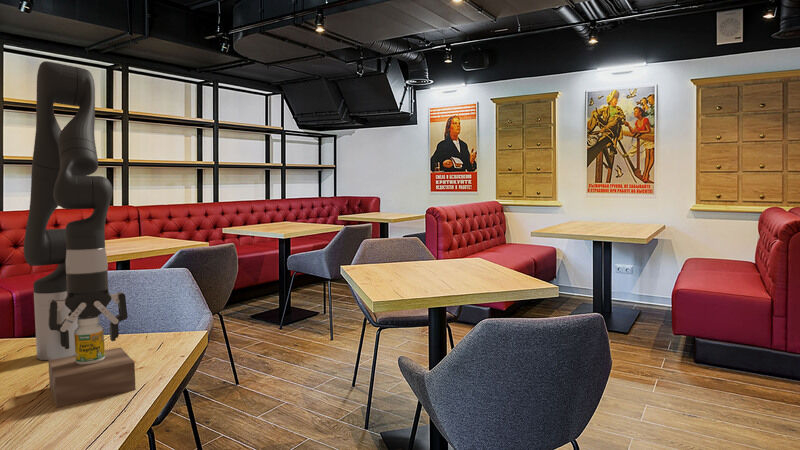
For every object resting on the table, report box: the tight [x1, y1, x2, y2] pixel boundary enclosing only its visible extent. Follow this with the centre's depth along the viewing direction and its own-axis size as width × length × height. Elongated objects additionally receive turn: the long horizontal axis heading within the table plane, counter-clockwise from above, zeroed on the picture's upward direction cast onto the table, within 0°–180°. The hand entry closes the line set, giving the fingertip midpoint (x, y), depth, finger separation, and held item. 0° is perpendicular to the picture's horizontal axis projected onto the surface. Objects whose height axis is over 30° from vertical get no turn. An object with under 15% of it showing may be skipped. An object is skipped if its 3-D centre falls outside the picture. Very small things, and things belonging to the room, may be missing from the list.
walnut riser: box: [47, 347, 137, 408], centre depth 108 cm, size 14×14×6 cm
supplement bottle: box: [74, 315, 106, 365], centre depth 108 cm, size 5×5×10 cm
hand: (90, 344), depth 108 cm, fingers open, 8 cm apart
